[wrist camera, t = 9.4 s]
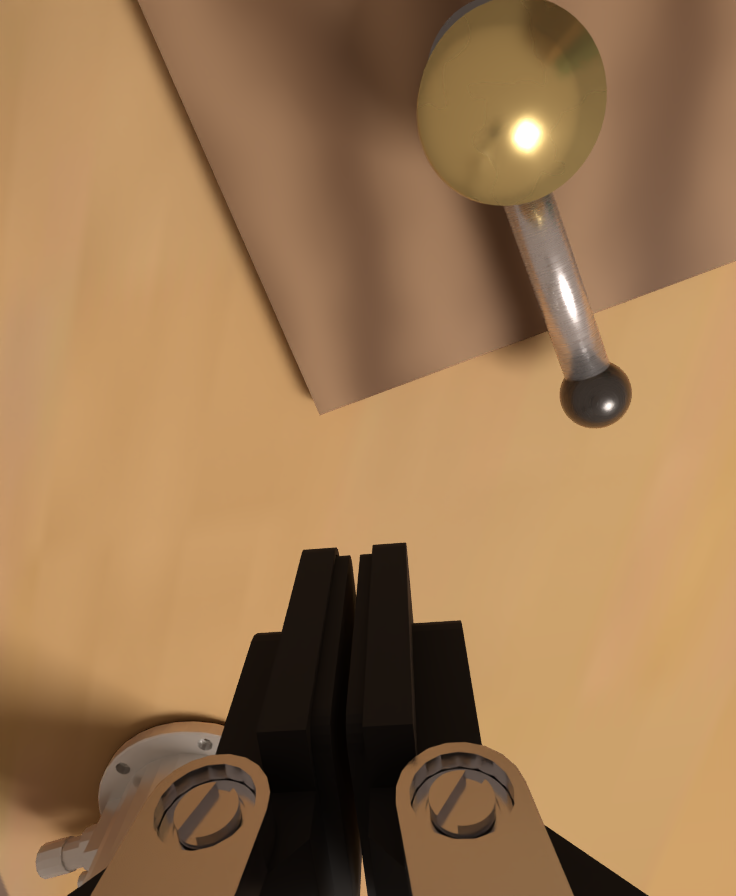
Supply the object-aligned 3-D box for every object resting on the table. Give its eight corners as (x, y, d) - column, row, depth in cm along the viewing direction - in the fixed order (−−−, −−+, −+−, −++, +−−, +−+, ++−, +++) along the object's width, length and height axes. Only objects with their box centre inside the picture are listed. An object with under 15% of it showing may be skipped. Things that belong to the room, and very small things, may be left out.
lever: (384, 69, 26) (382, 40, 21) (533, -8, 25) (567, -58, 20) (525, 431, 31) (550, 475, 26) (654, 380, 30) (705, 416, 25)
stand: (323, 405, 32) (296, 485, 24) (124, -51, 26) (-15, -177, 17) (789, 231, 29) (964, 248, 20) (690, -347, 23) (882, -699, 14)
